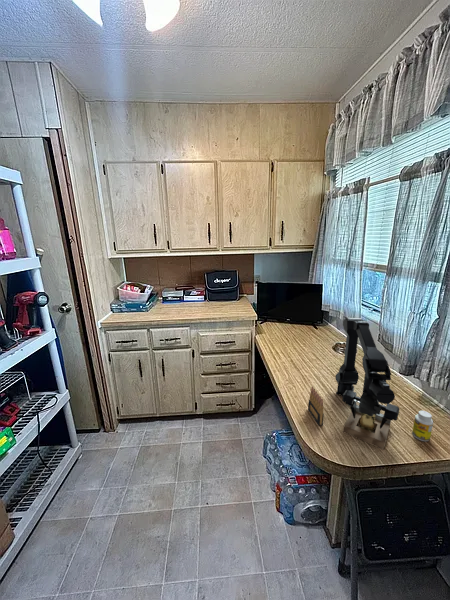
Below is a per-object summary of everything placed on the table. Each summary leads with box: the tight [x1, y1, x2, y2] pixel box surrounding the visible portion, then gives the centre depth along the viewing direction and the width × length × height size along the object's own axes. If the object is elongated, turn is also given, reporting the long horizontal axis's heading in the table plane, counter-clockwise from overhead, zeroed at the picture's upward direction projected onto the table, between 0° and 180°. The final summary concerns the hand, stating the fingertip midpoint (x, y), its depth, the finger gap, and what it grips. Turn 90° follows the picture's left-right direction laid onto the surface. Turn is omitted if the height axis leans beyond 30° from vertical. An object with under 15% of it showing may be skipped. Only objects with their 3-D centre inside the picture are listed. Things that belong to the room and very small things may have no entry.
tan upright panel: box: [307, 386, 325, 426], centre depth 110 cm, size 11×2×12 cm, turn 6°
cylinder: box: [359, 413, 375, 433], centre depth 102 cm, size 5×5×8 cm
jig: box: [342, 404, 392, 450], centre depth 103 cm, size 14×14×5 cm
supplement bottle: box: [411, 410, 434, 442], centre depth 98 cm, size 6×6×10 cm
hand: (367, 422), depth 102 cm, fingers open, 9 cm apart
